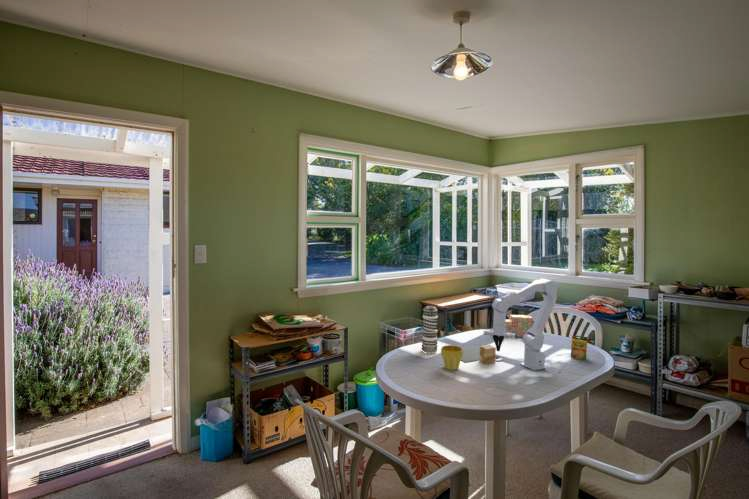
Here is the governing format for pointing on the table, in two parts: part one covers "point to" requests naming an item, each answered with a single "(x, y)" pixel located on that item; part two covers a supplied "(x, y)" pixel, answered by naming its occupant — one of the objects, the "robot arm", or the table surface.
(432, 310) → the decorative candle
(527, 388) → the table surface
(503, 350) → the table surface
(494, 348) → the oak block
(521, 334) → the stack of blocks
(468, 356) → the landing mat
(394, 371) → the table surface
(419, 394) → the table surface
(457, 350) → the plant pot
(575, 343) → the crayon box
